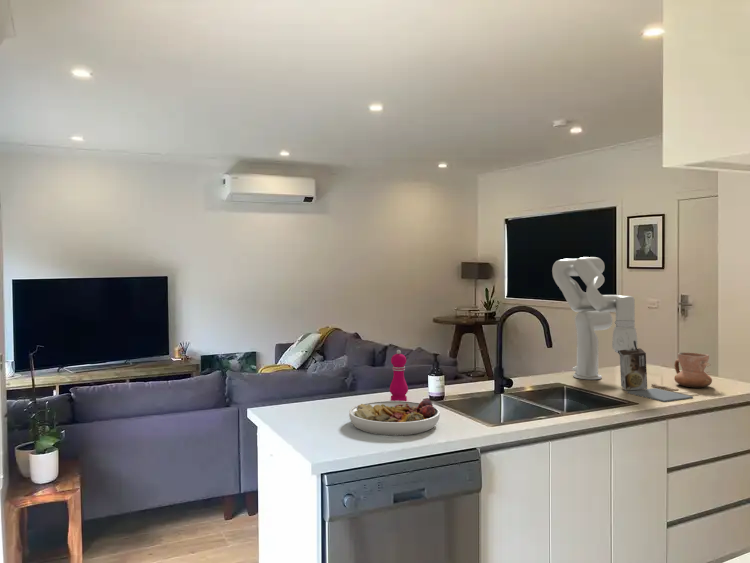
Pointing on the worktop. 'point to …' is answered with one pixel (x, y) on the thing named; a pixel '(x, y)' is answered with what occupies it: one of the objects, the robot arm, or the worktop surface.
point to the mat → (660, 394)
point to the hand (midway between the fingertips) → (625, 366)
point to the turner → (675, 390)
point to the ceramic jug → (692, 370)
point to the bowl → (395, 417)
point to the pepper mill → (398, 378)
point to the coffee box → (633, 369)
